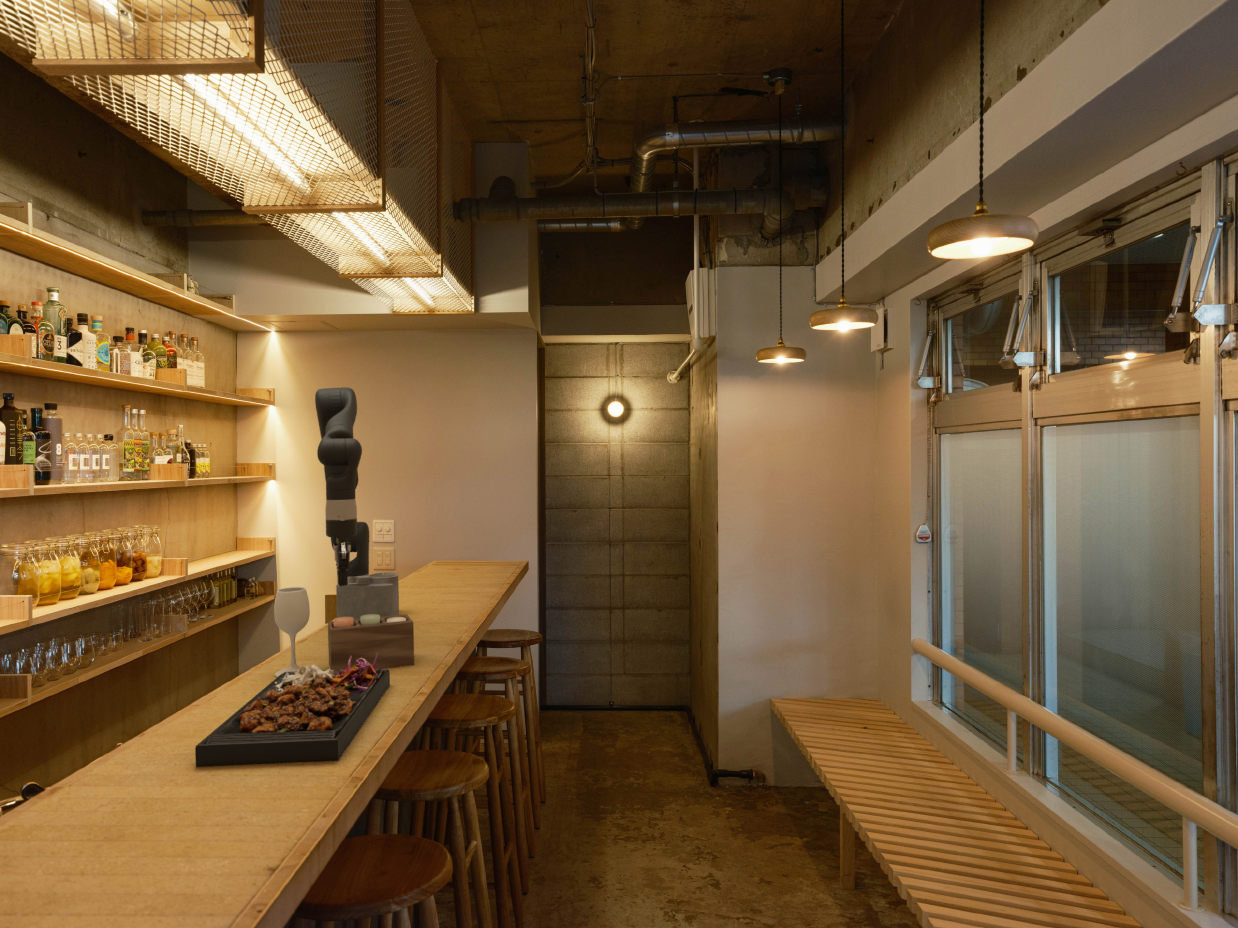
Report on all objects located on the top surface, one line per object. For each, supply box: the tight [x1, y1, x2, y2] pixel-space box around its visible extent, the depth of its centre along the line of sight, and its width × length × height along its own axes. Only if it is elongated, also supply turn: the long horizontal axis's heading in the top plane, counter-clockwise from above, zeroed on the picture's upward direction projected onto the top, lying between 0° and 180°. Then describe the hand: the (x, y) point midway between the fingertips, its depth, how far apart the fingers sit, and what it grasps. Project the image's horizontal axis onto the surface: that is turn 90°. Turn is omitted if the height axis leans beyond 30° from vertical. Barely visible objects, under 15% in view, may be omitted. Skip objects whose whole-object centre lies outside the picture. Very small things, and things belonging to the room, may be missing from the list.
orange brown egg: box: [333, 617, 354, 628], centre depth 204 cm, size 5×5×4 cm
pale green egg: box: [360, 614, 380, 625], centre depth 206 cm, size 5×5×4 cm
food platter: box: [194, 653, 391, 768], centre depth 165 cm, size 45×25×10 cm, turn 5°
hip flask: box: [335, 576, 394, 619], centre depth 224 cm, size 16×4×20 cm, turn 87°
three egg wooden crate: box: [327, 613, 415, 670], centre depth 206 cm, size 11×20×11 cm, turn 113°
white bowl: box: [273, 586, 311, 678], centre depth 199 cm, size 9×9×21 cm
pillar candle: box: [369, 570, 400, 615], centre depth 265 cm, size 10×10×15 cm
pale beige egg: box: [387, 617, 406, 623], centre depth 209 cm, size 5×5×4 cm
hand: (342, 585), depth 203 cm, fingers closed
